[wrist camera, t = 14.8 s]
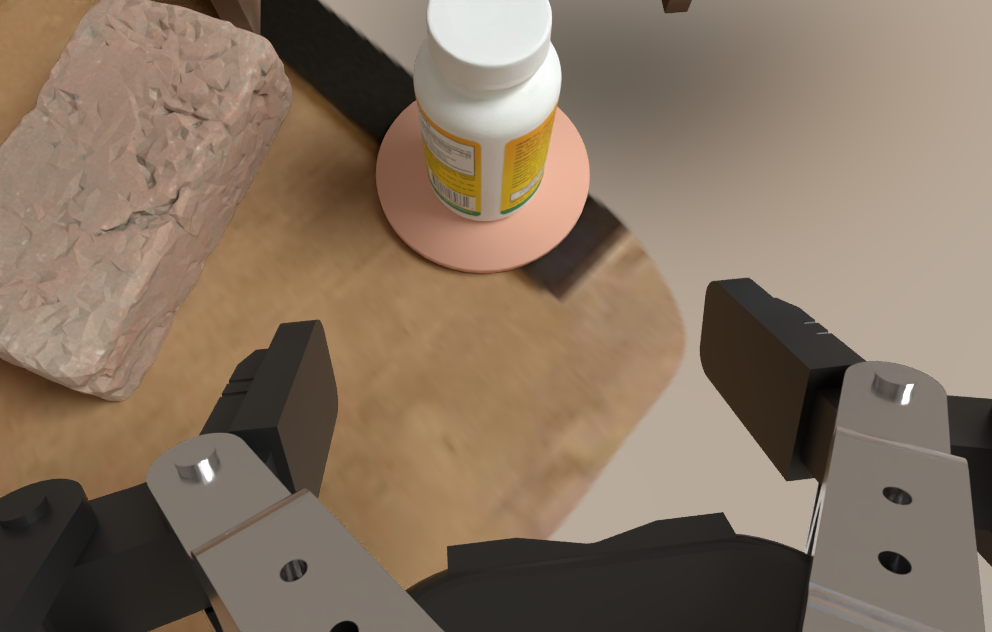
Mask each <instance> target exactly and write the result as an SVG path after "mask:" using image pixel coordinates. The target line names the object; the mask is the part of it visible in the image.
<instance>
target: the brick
mask: <svg viewBox="0 0 992 632" xmlns="http://www.w3.org/2000/svg"><path fill="white" fill-rule="evenodd" d="M291 100H292V88H291V85H290V83H289V79H288V77H287V76H286V75H285V72H284V64H283V63H282V61H281V60H280V59H279V57H278V55H277V53H276V52H275V50H274V48H273V46H272V45H271V43H270V42H269V41H268V40H267V39H266V38H264V37H262V36H260V35H258V34H255V33H252V32H249V31H246V30H243V29H240V28H237V27H235V26H234V25H233V24H232V23H231V22H228V21H224V20H220V19H216V18H213V17H210V16H208V15H205V14H202V13H199V12H196V11H194V10H191V9H188V8H185V7H181V6H177V5H170V4H164V3H158V2H154V1H150V0H100V1H99V3H97V4H95V5H93V6H92V7H90V8H89V9H88V11H87V12H86V14H85V15H84V16H83V18H82V20H81V21H80V23H79V25H78V26H77V28H76V29H75V31H74V33H73V34H72V36H71V37H70V39H69V40H68V42H67V44H66V46H65V48H64V49H63V51H62V53H61V56H60V58H59V60H58V62H57V63H56V65H55V66H54V67H53V69H52V70H51V73H50V77H49V79H48V81H47V82H46V83H45V84H44V85H43V87H42V89H41V91H40V93H39V95H38V100H37V105H36V108H35V109H33V110H32V111H30V112H29V113H28V114H26V115H25V116H23V118H22V120H21V121H20V123H19V125H18V126H17V127H16V128H15V129H14V131H13V132H12V133H11V134H10V135H9V137H8V138H7V139H6V140H5V142H4V143H3V144H2V145H1V147H0V358H1V359H3V360H5V361H7V362H9V363H11V364H13V365H16V366H19V367H22V368H26V369H27V370H29V371H31V372H33V373H36V374H38V375H40V376H42V377H44V378H46V379H48V380H51V381H52V382H56V383H59V384H61V385H63V386H66V387H68V388H70V389H73V390H76V391H78V392H81V393H85V394H90V395H94V396H97V397H100V398H102V399H105V400H108V401H122V400H125V399H127V398H129V397H130V395H131V394H132V392H133V391H134V390H136V389H137V388H138V387H139V384H140V382H141V380H142V378H143V376H144V375H145V373H146V371H147V370H148V369H149V368H150V367H151V365H152V364H153V362H154V361H155V359H156V357H157V355H158V353H159V351H160V349H161V347H162V345H163V343H164V341H165V339H166V337H167V335H168V332H169V330H170V327H171V324H172V320H173V312H175V311H177V310H178V309H179V307H180V305H181V304H182V302H183V301H184V300H185V299H186V297H187V296H188V295H189V293H190V292H191V290H192V289H193V287H194V286H195V284H196V283H197V281H198V278H199V275H200V273H201V271H202V270H203V267H204V264H205V261H206V259H207V257H208V256H209V255H210V253H211V251H212V250H213V249H214V248H215V247H216V246H217V245H218V243H219V241H220V239H221V237H222V235H223V233H224V231H225V229H226V227H227V225H228V224H229V222H230V220H231V219H232V217H233V214H234V210H235V207H236V205H237V204H239V203H240V202H241V201H242V199H243V197H244V195H245V194H246V192H247V190H248V188H249V186H250V184H251V182H252V180H253V178H254V176H255V175H256V173H257V172H258V170H259V168H260V166H261V164H262V162H263V160H264V158H265V156H266V155H267V153H268V151H269V150H270V148H271V145H272V143H273V140H274V137H275V136H276V134H277V132H278V130H279V127H280V125H281V123H282V122H283V120H284V119H285V117H286V115H287V112H288V110H289V108H290V106H291Z"/></svg>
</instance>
